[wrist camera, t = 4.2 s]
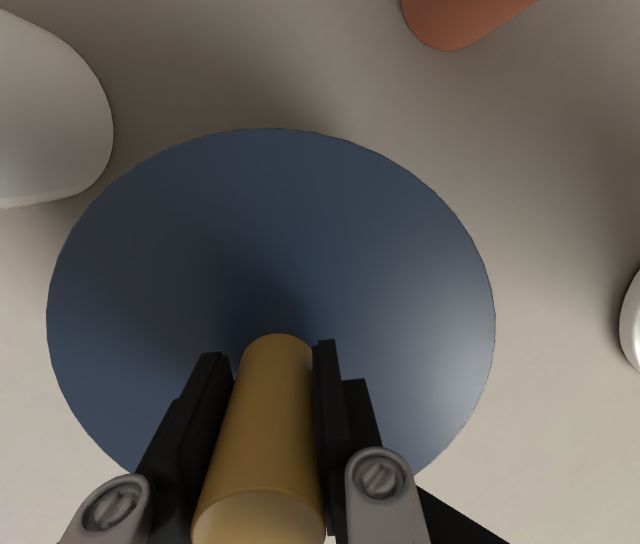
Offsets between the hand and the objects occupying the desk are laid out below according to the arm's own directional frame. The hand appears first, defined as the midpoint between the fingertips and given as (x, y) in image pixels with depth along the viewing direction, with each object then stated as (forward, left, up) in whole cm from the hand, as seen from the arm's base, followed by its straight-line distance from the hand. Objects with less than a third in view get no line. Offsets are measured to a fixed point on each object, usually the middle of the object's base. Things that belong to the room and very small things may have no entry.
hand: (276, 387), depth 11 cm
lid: (0, 0, -2) cm, 2 cm away
